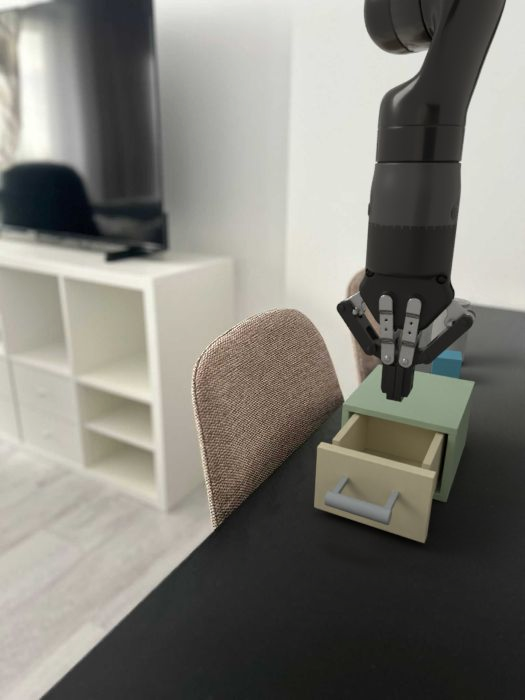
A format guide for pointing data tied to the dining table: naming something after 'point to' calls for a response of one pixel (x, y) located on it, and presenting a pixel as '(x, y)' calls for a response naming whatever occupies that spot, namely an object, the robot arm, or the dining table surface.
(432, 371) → the small sky-blue cube
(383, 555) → the dining table surface
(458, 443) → the cabinet
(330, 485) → the drawer
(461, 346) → the beverage can
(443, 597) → the dining table surface
